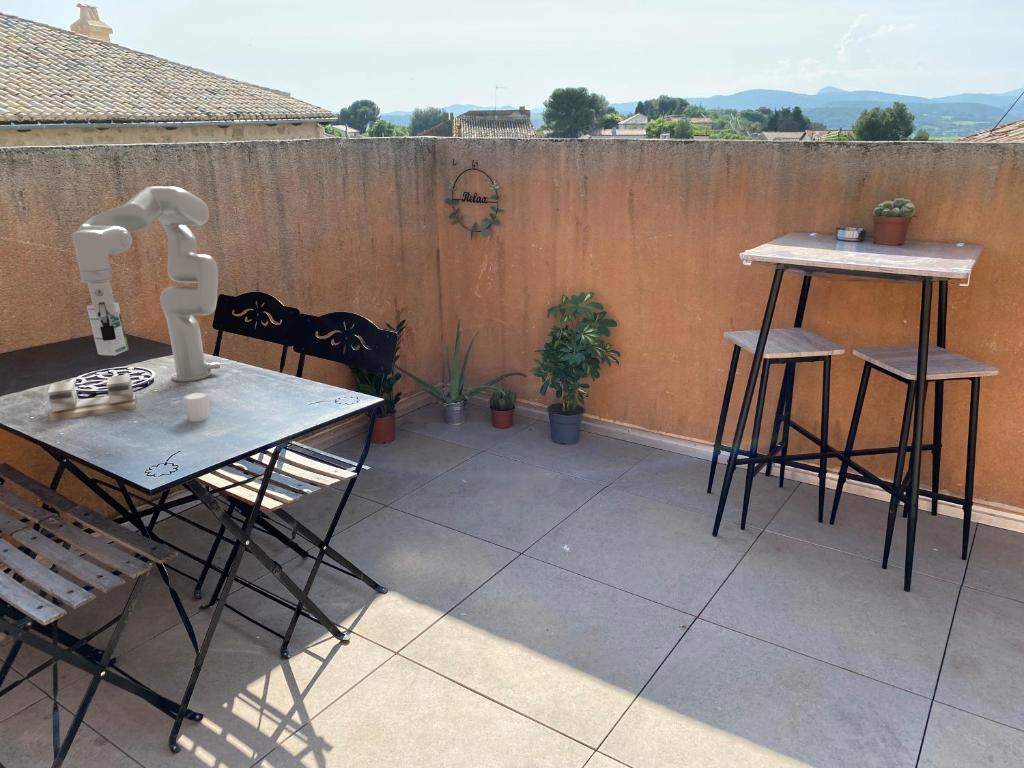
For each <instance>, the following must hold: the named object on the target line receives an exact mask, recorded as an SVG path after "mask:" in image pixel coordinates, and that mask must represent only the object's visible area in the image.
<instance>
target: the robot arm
mask: <svg viewBox="0 0 1024 768" xmlns="http://www.w3.org/2000/svg"><path fill="white" fill-rule="evenodd" d="M209 218H210V211H209V207H208V205H207V203H206V202H205V201H204V200H203V199H201V198H200V197H198V196H196V195H194V194H193V193H191V192H189V191H187V190H186V189H183V188H181V187H177V186H147V187H144V188H143V189H142V190H141V191H139V192H138V193H137V194H136V195H134V196H133V197H132V198H130V199H129V200H128V201H127V202H125V203H124V204H123V205H120V206H117V207H114V208H112V209H111V208H110V209H108V210H105V211H103V212H100V213H98V214H95V215H93V216H92V217H89V218H88V219H87V220H86V221H84V222H83V223H82V224H81V225H80V226H78V229H77V230H76V231H74V232H73V233H72V235H71V236H72V243H73V247H74V251H75V252H74V253H75V255H76V260H77V265H78V269H79V275H80V279H81V282H82V283H84V284H87V287H88V293H89V295H90V300H91V303H92V304H91V305H93V308H94V311H95V314H96V317H98V316H99V317H98V318H99V320H100V325H101V327H100V329H101V333H102V338H103V340H104V341H107V340H115V339H116V336H115V331H114V326H113V325H112V322H111V316H110V315H113V316H115V315H116V309H115V304H114V302H115V299H114V294H113V289H112V286H111V282H110V281H113V280H114V278H113V273H112V272H113V271H112V267H111V262H110V257H109V254H121V253H125V252H127V251H128V250H129V249H130V248H131V246H132V244H133V237H132V235H131V234H132V233H136V232H139V231H142V230H145V229H147V228H148V227H149V226H150V225H151V224H152V223H153V222H155V221H156V219H157V221H158V222H159V223H160V225H161V226H162V228H163V229H164V230H165V233H166V236H167V238H168V249H167V251H168V252H167V265H166V266H167V269H166V270H167V275H168V278H169V279H170V280H172V281H173V282H176V283H186V284H191V283H192V284H194V283H195V284H197V286H189V285H173V286H172V285H171V286H168V287H166V288H164V289H163V290H162V291H161V293H160V296H159V303H160V306H161V308H162V311H163V314H164V316H165V319H166V322H167V327H168V333H169V339H170V343H171V344H170V345H171V350H172V356H173V361H174V367H175V371H174V373H172V374H171V378H172V380H174V381H176V382H194V381H199V380H203V379H206V378H208V377H210V376H211V375H212V370H213V369H214V370H218V369H221V364H220V362H218V363H217V362H207V360H206V359H205V353H204V349H203V348H204V346H203V341H202V334H201V327H200V325H199V322H198V320H197V319H196V318H195V316H208V315H211V314H213V313H214V312H215V310H216V308H217V302H218V301H217V300H218V289H219V288H218V285H219V267H218V264H217V261H216V260H215V258H214V257H212V256H211V255H209V254H204V253H202V254H200V253H199V254H198V253H197V239H196V237H195V234H194V233H193V231H192V230H191V229H190V228H189V227H188V226H202V225H204V224H206V223H207V222H208V220H209ZM105 307H106V310H107V312H108V315H106V310H105ZM98 314H99V315H98ZM100 314H101V315H100ZM108 318H109V319H108Z"/></svg>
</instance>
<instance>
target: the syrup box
mask: <svg viewBox="0 0 1024 768" xmlns="http://www.w3.org/2000/svg"><path fill="white" fill-rule="evenodd" d="M114 304H115V309H116V315H115V316H113V315H110V316H111V322H112V325H113V326H114V331H115V336H116V339H115V340H107V341H104V340H103V338H102V333H101V329H100V327H101V325H100V320H99V318H98V317H99V316H98V317H96V314H95V311H94V308H93V304H91V305H87V306H86V310H87V313H88V317H89V323H90V326H91V331H92V334H93V335H92V336H93V339H94V343H95V347H96V350H97V354H98V356H99V355H101V356H114V357H115V356H117V355H119V354H121V353H124V352H126V351H127V352H128V351H129V349H130V348H129V344H128V343H129V342H128V340H127V336H126V332H125V330H126V329H125V325H124V322H123V318H122V312H121V308H120V304H119V302H118V301H114ZM105 310H106V307H105ZM98 315H99V314H98ZM100 315H101V314H100ZM106 315H108V312H107V310H106ZM108 319H109V318H108Z"/></svg>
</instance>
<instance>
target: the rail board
mask: <svg viewBox="0 0 1024 768" xmlns="http://www.w3.org/2000/svg"><path fill="white" fill-rule="evenodd" d="M76 387H77V386H76V383H75V381H69V382H68V381H67V382H60V383H53V384H50V386H49V388H48V391H47V396H48V400H49V404H50V408H51V409H50V415H49V418H50V422H52V420H54V421H60V420H67V419H73V418H81V417H87V416H95V415H99V414H108V413H113V412H114V413H115V412H121V411H129V410H135V409H136V408H137V391H134V389H133V385H132V378H131V374H124V375H123V374H122V375H116V376H115V375H114V376H109V377H107V381H106V389H107V393H108V394H107V395H104V396H97V397H90V398H83V399H79V397H78V392H77V389H76Z"/></svg>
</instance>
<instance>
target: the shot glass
mask: <svg viewBox="0 0 1024 768" xmlns="http://www.w3.org/2000/svg"><path fill="white" fill-rule="evenodd" d="M182 399H183V403H184V407H185V410H186V414H187V418H188V420H189V422H190V421H191V422H202V421H206V420H208V419H209V418H210V417H211V414H210V397H209V393H208V392H204V391H196V392H192V393H188V394H185V395H184V396H183V397H182Z"/></svg>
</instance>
